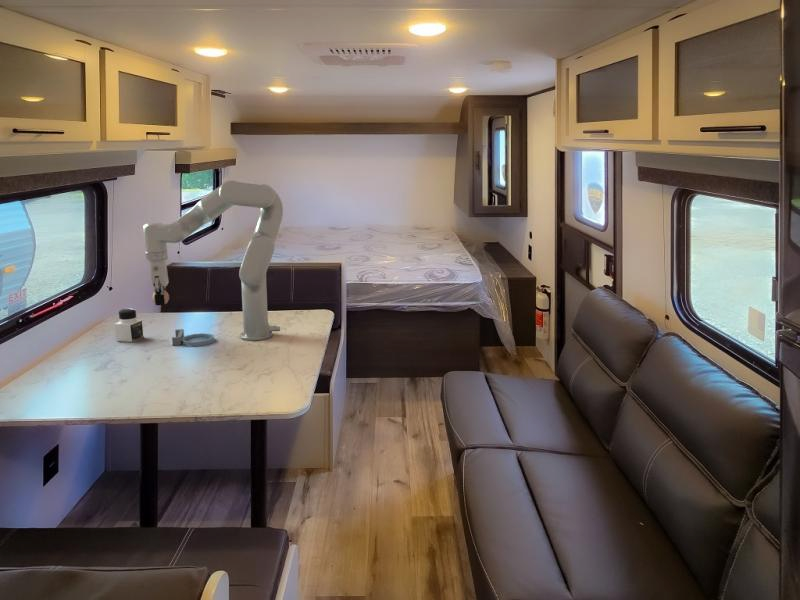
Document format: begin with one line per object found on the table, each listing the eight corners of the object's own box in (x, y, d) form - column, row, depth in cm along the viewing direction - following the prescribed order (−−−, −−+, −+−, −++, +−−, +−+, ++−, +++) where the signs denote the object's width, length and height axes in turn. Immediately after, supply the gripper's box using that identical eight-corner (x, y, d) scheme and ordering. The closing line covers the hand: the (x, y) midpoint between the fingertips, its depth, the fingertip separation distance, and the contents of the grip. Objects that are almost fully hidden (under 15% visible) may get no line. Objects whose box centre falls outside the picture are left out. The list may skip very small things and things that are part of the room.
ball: (170, 302, 227) (169, 287, 226) (168, 306, 221) (167, 290, 220) (154, 303, 226) (152, 288, 224) (151, 307, 220) (150, 291, 219)
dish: (215, 336, 233) (214, 332, 233) (213, 345, 222) (213, 340, 222) (183, 338, 230) (182, 334, 230) (180, 347, 219) (179, 343, 219)
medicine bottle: (132, 342, 225) (129, 312, 222) (115, 341, 226) (112, 311, 224) (143, 337, 232) (141, 307, 229) (127, 336, 233) (124, 306, 230)
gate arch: (184, 336, 233) (183, 329, 233) (181, 345, 222) (180, 337, 221) (176, 336, 232) (175, 329, 232) (172, 345, 221) (172, 338, 220)
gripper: (164, 259, 212) (169, 307, 216) (170, 252, 228) (174, 297, 232) (142, 260, 210) (147, 308, 214) (149, 253, 226) (154, 298, 231)
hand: (161, 302), depth 223 cm, fingers closed on ball, 5 cm apart
